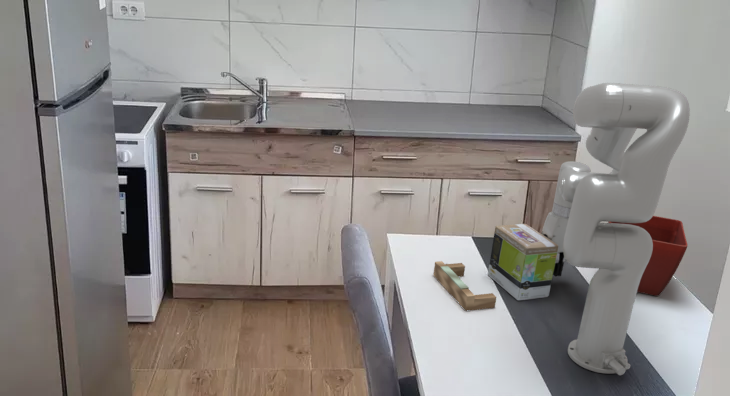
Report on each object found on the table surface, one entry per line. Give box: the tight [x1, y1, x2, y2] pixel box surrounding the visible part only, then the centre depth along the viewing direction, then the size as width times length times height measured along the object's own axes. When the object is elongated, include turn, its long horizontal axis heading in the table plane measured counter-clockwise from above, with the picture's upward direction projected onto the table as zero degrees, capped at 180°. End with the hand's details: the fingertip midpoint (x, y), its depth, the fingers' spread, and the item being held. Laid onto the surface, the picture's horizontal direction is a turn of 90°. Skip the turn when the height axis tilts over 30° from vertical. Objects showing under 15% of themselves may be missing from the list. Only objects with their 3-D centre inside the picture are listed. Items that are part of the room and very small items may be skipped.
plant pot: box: [607, 215, 689, 297], centre depth 189 cm, size 19×19×17 cm
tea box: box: [487, 223, 558, 301], centre depth 182 cm, size 15×10×15 cm
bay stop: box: [433, 260, 497, 312], centre depth 178 cm, size 19×8×4 cm, turn 19°
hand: (555, 273), depth 186 cm, fingers closed
